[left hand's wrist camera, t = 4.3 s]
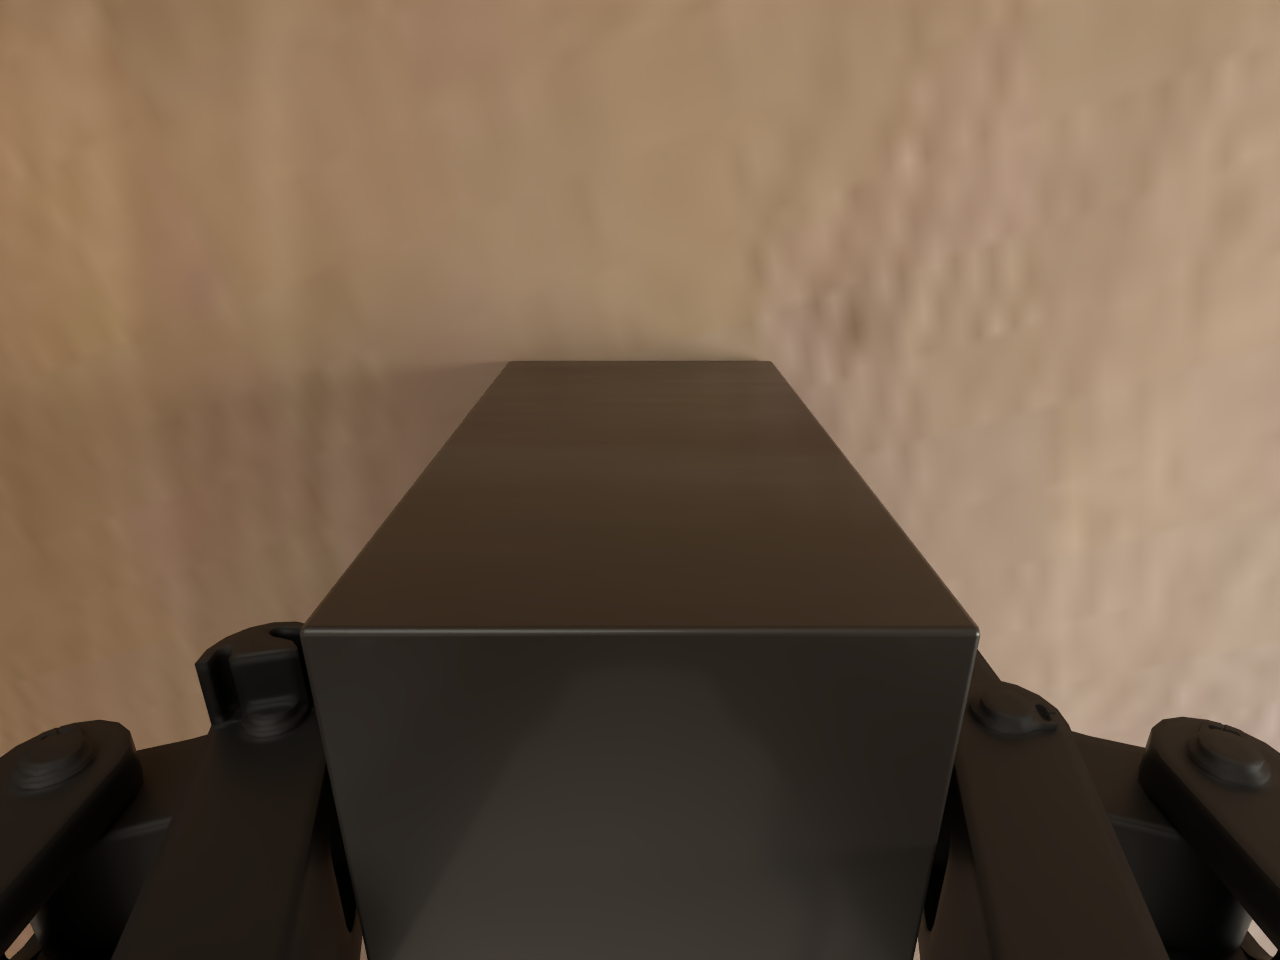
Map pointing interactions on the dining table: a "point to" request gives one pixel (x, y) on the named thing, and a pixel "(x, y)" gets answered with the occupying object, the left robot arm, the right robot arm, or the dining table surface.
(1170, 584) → the dining table surface
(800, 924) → the bar
